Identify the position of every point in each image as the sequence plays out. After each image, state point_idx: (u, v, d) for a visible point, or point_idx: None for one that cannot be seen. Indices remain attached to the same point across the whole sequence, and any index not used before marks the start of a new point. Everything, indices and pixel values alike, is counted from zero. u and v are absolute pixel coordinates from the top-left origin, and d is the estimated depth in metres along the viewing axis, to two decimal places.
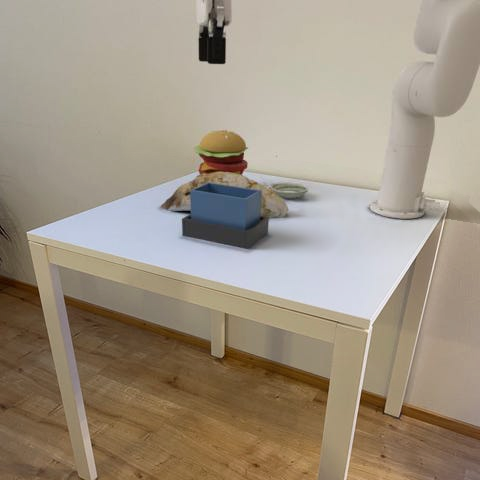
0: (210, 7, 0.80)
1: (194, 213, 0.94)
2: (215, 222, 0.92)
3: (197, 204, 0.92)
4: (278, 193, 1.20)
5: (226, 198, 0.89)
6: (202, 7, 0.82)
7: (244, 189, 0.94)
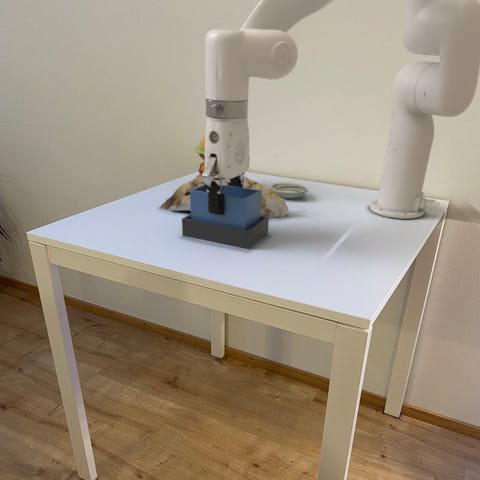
0: None
1: (194, 213, 0.94)
2: (215, 222, 0.92)
3: (197, 204, 0.92)
4: (278, 193, 1.20)
5: (226, 198, 0.89)
6: None
7: (244, 189, 0.94)
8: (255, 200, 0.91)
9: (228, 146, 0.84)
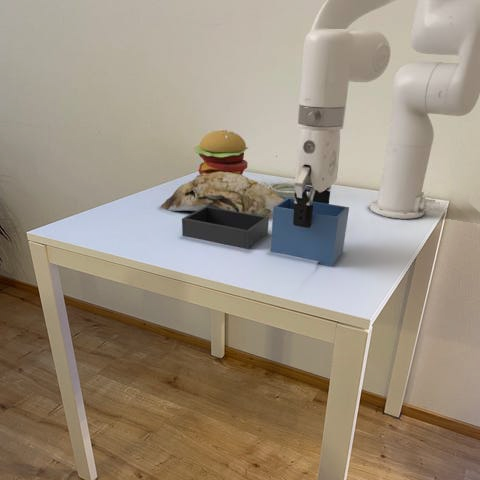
0: None
1: (276, 231, 0.87)
2: (299, 241, 0.86)
3: (280, 222, 0.86)
4: (278, 193, 1.20)
5: (315, 216, 0.83)
6: None
7: (329, 205, 0.87)
8: (344, 218, 0.85)
9: (324, 156, 0.77)
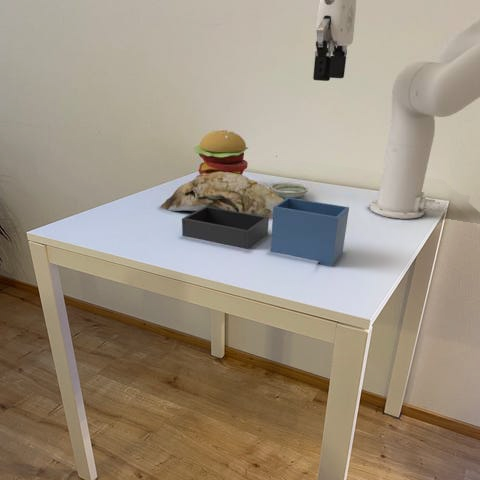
0: None
1: (276, 231, 0.87)
2: (299, 241, 0.86)
3: (280, 222, 0.86)
4: (278, 193, 1.20)
5: (315, 216, 0.83)
6: None
7: (329, 205, 0.87)
8: (344, 218, 0.85)
9: (343, 7, 0.85)
